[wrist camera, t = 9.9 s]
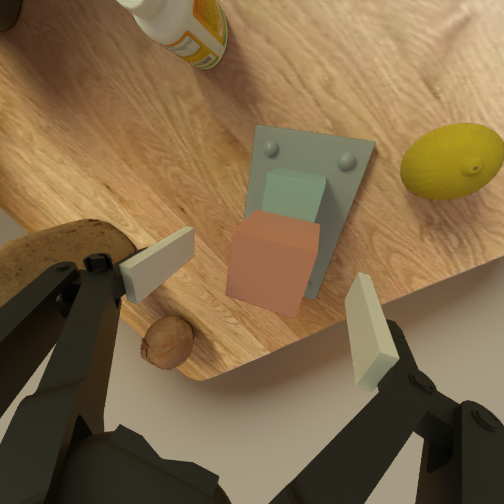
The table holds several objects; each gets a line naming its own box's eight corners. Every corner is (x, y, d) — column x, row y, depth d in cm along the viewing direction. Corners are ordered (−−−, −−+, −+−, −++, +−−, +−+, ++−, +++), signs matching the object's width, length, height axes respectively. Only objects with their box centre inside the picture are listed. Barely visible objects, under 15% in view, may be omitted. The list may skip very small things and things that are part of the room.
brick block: (256, 209, 19) (231, 230, 14) (320, 224, 18) (317, 253, 13) (248, 262, 22) (225, 295, 17) (302, 278, 21) (295, 318, 16)
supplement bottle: (196, -18, 19) (99, -144, 11) (239, 24, 20) (176, -68, 11) (174, 47, 22) (83, -14, 14) (212, 83, 22) (145, 43, 14)
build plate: (259, 125, 23) (234, 116, 17) (373, 142, 20) (394, 138, 14) (239, 271, 32) (219, 300, 26) (315, 295, 30) (312, 332, 24)
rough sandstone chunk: (145, 255, 38) (-3, 342, 21) (128, 272, 41) (-10, 357, 24) (102, 208, 36) (-99, 260, 19) (88, 229, 40) (-91, 290, 23)
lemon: (379, 181, 21) (403, 196, 15) (412, 121, 19) (462, 104, 12) (434, 198, 21) (487, 221, 14) (478, 137, 18) (571, 129, 11)
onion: (176, 311, 47) (128, 332, 40) (193, 305, 40) (138, 329, 33) (191, 351, 46) (144, 380, 39) (210, 351, 39) (158, 386, 32)
